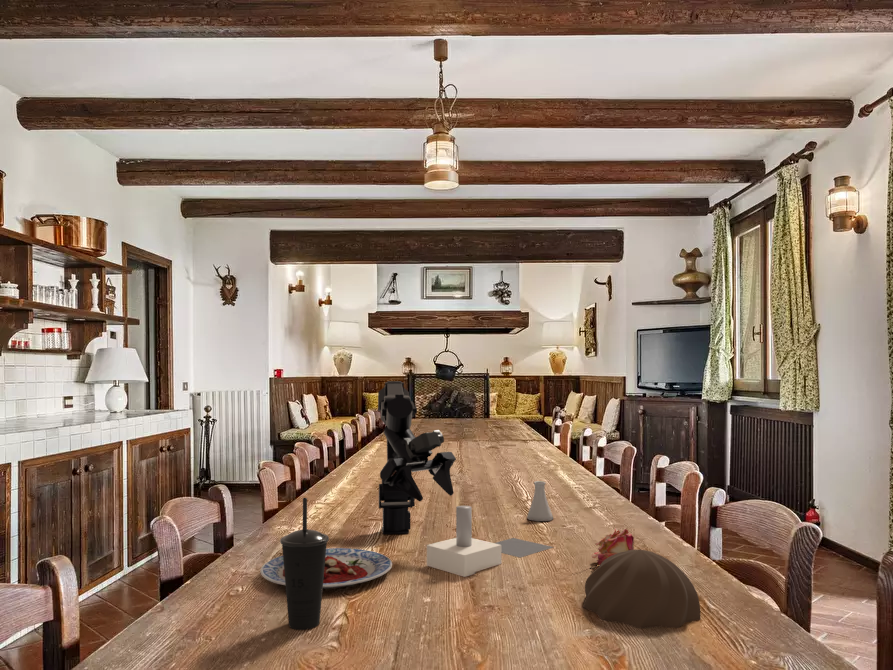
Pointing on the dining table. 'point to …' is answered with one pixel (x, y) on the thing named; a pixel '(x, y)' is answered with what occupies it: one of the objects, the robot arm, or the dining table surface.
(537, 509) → the flask
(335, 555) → the ceramic plate
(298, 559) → the drinking cup
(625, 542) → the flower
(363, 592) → the dining table surface
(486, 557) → the cream bowl cover
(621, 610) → the decorative dome
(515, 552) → the charcoal rubber mat
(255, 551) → the dining table surface
